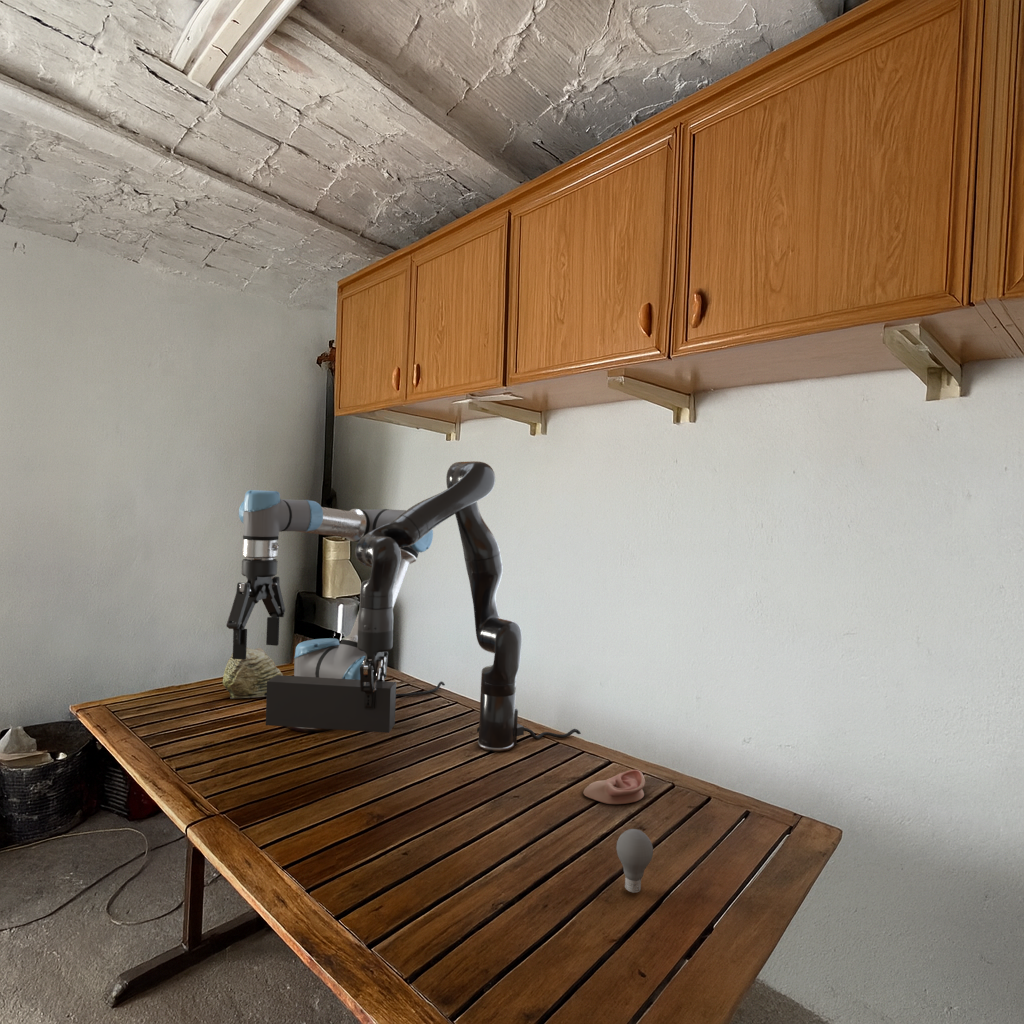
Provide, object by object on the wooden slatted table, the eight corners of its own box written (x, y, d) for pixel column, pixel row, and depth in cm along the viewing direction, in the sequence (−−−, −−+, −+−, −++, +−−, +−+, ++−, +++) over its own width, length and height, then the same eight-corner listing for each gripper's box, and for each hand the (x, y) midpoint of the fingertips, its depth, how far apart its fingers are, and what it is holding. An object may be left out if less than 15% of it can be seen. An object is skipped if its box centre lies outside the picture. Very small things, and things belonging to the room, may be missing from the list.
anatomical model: (582, 782, 137) (587, 761, 148) (581, 800, 137) (586, 778, 148) (645, 790, 134) (645, 768, 145) (644, 809, 134) (644, 785, 145)
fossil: (218, 695, 195) (220, 647, 195) (278, 685, 208) (279, 640, 207) (228, 703, 189) (230, 653, 188) (289, 692, 201) (290, 645, 201)
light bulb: (610, 879, 108) (613, 822, 108) (644, 879, 109) (647, 822, 109) (619, 902, 102) (622, 840, 102) (655, 901, 103) (658, 840, 103)
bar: (265, 725, 137) (266, 681, 137) (275, 717, 142) (276, 674, 142) (389, 732, 135) (390, 688, 135) (394, 724, 140) (396, 681, 140)
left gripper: (243, 564, 130) (240, 666, 131) (301, 554, 155) (298, 641, 155) (210, 562, 132) (207, 663, 132) (273, 553, 156) (270, 638, 157)
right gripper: (384, 635, 130) (381, 717, 130) (400, 621, 144) (398, 695, 145) (348, 633, 130) (345, 715, 131) (368, 620, 145) (365, 693, 145)
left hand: (256, 651), depth 144 cm, fingers open, 13 cm apart
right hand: (373, 704), depth 138 cm, fingers closed on bar, 5 cm apart
